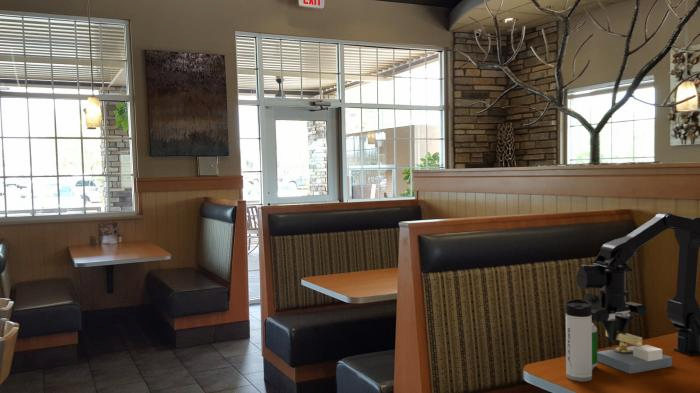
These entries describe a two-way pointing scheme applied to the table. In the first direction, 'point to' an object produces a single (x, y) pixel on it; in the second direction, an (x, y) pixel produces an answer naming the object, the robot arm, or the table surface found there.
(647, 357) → the white square block
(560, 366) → the table surface
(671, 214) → the robot arm
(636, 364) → the lock plate
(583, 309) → the travel mug
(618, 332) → the brass door handle
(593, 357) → the soda can
